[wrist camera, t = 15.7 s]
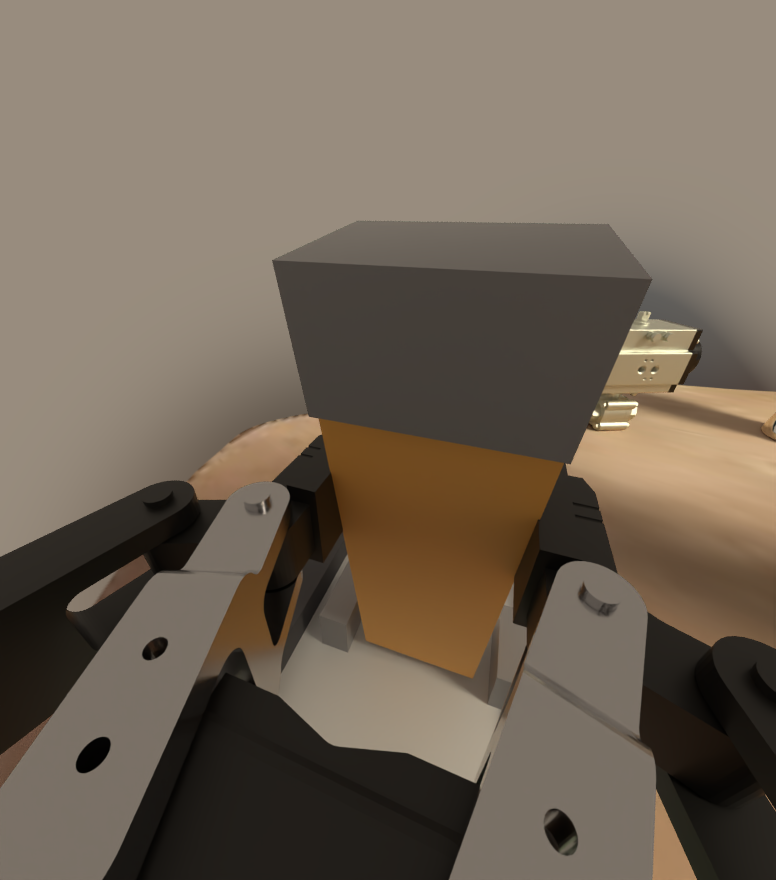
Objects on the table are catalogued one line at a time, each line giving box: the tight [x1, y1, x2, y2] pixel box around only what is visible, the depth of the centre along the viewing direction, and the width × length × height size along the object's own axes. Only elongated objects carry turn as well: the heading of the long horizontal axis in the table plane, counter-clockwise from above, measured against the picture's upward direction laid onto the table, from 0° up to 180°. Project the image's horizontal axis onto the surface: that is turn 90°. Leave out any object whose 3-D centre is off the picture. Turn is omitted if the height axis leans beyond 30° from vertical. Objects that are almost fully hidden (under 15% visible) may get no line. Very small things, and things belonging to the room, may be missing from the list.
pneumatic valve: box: [589, 311, 703, 430], centre depth 35 cm, size 6×12×12 cm, turn 96°
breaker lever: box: [272, 221, 652, 679], centre depth 10 cm, size 3×5×15 cm, turn 72°
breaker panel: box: [278, 554, 527, 782], centre depth 15 cm, size 22×14×4 cm, turn 162°
